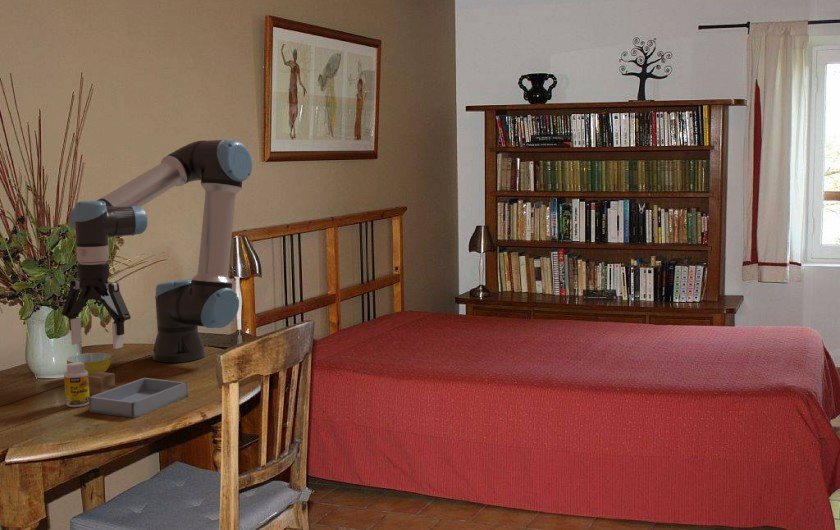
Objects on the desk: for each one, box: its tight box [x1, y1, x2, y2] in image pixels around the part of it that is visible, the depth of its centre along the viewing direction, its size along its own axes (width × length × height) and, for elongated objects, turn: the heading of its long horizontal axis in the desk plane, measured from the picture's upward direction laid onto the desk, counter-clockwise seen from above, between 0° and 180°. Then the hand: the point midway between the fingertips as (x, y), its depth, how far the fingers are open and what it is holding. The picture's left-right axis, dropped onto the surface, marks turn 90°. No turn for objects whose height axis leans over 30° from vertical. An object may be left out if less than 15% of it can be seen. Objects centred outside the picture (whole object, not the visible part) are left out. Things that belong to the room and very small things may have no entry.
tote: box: [88, 377, 189, 419], centre depth 224 cm, size 20×14×4 cm
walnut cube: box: [88, 371, 116, 397], centre depth 234 cm, size 5×5×5 cm
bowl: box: [66, 352, 112, 375], centre depth 248 cm, size 11×12×6 cm
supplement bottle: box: [63, 362, 91, 408], centre depth 224 cm, size 6×6×10 cm
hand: (97, 345), depth 233 cm, fingers open, 13 cm apart
